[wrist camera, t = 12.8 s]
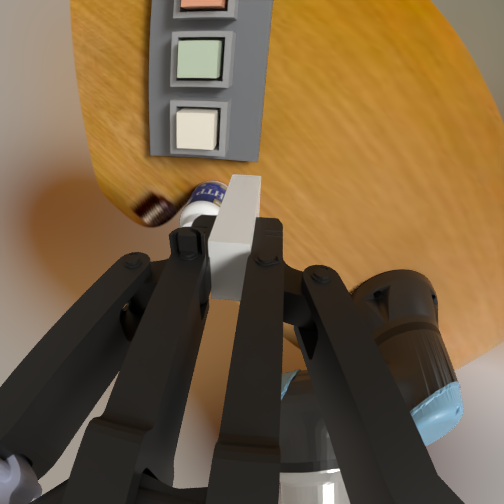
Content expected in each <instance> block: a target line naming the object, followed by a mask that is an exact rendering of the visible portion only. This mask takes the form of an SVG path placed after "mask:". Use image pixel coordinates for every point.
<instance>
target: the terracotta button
mask: <svg viewBox="0 0 504 504" xmlns="http://www.w3.org/2000/svg"><path fill="white" fill-rule="evenodd" d="M181 7H182V8H185V9H187V10H227V0H181Z"/></svg>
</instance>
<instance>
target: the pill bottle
mask: <svg viewBox="0 0 504 504" xmlns="http://www.w3.org/2000/svg"><path fill="white" fill-rule="evenodd" d="M227 188H228V186H226V185H225V184H223V183H221V182H219V181H205V182H203V183H201V184H199V185H198V186H197V187H196V188H195V190H194V191H193V193H192V195H191V197H190V198H189V200H188V202H187V204H186V205H185V207H184V209H183V211H182V213H181V216H180V227H191V225H192V223H193V221H194V219H196V218H197V217H198V216H200V215H218V212H219V209H220V207H221V204H222V201H223V199H224V196H225V193H226V191H227Z"/></svg>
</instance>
